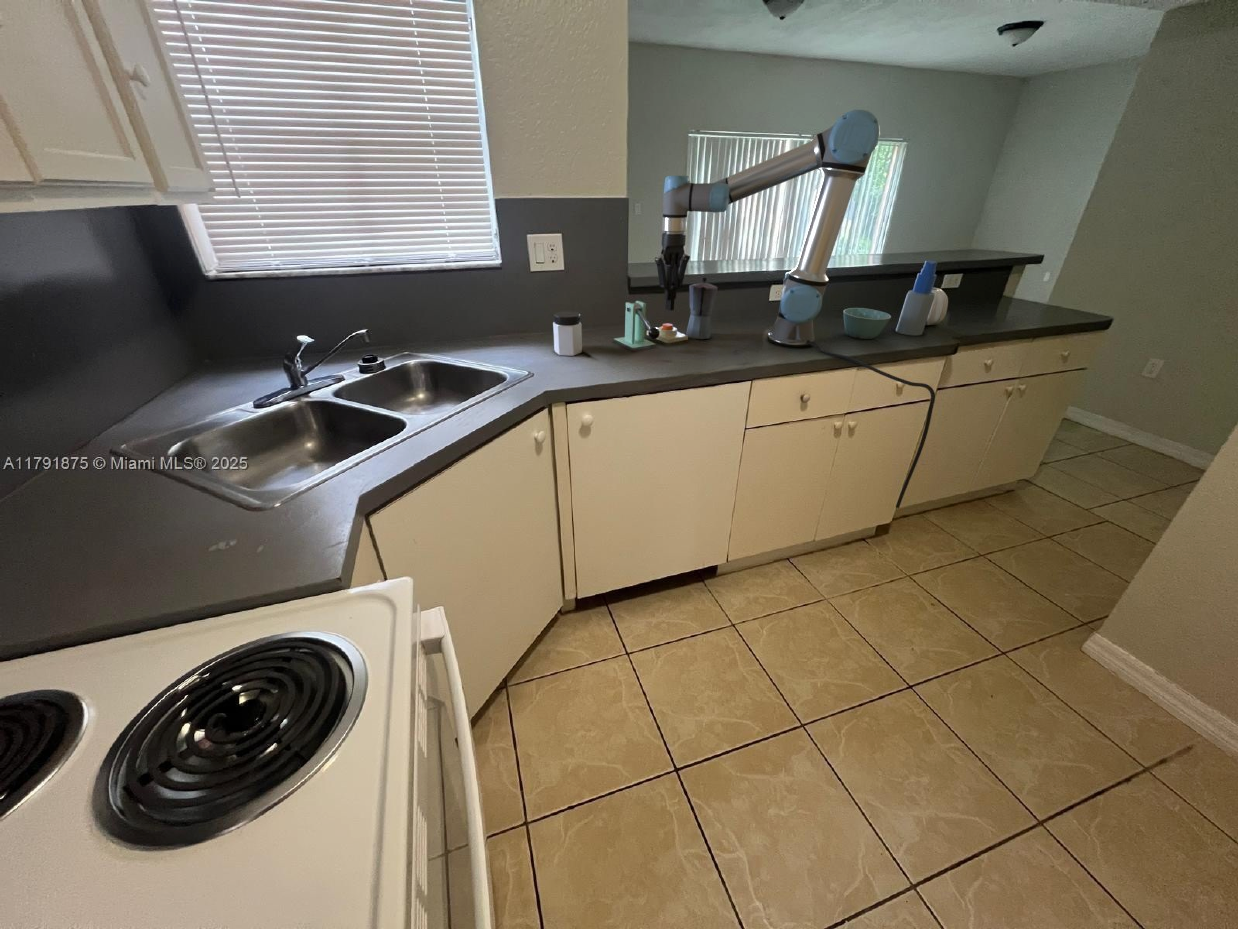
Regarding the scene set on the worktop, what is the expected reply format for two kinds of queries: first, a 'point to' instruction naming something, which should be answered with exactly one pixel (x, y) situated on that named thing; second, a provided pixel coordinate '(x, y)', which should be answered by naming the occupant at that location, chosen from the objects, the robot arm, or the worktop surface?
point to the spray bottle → (918, 302)
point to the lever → (647, 323)
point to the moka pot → (701, 309)
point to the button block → (670, 335)
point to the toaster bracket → (634, 327)
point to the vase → (937, 307)
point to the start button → (667, 326)
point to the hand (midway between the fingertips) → (669, 309)
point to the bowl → (864, 322)
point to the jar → (567, 333)
